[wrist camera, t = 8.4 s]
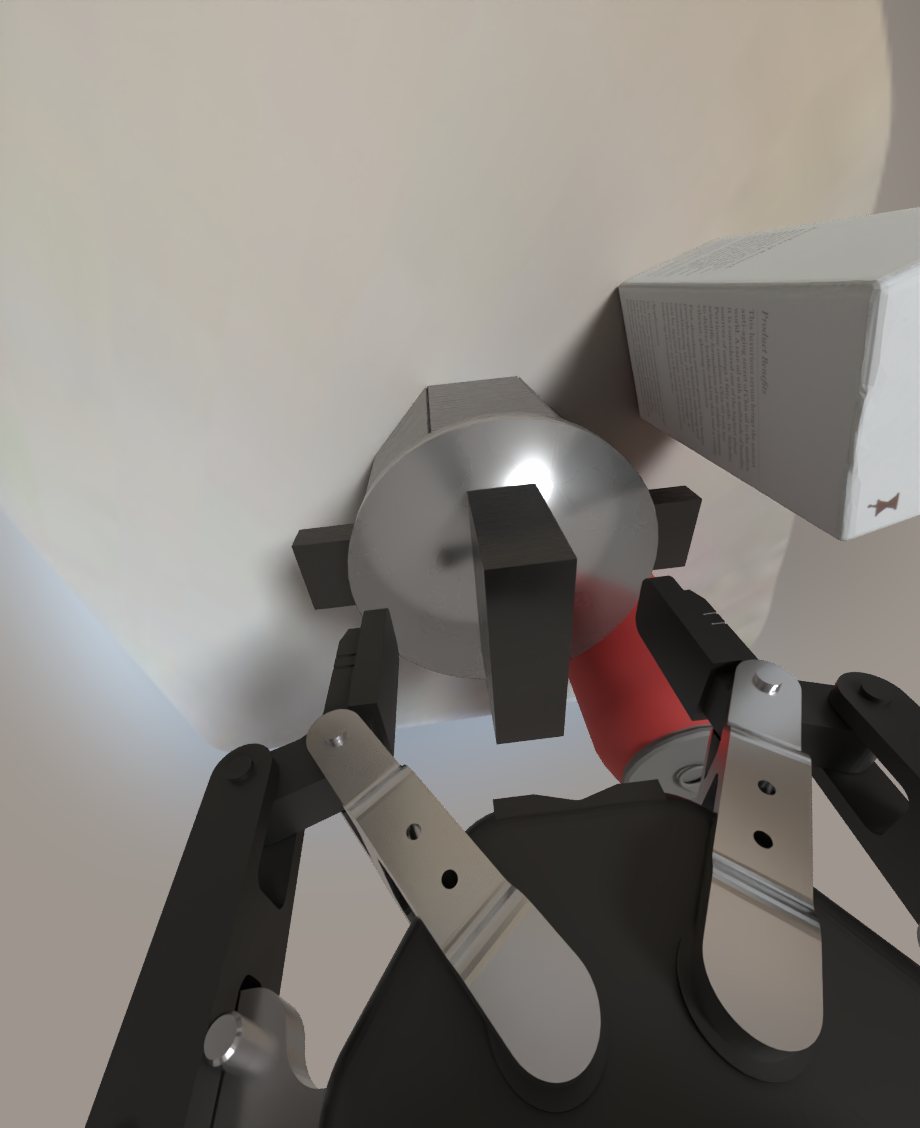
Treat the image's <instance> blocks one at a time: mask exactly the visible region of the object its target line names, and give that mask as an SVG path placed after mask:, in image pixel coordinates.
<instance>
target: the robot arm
mask: <svg viewBox="0 0 920 1128" xmlns="http://www.w3.org/2000/svg"><path fill="white" fill-rule="evenodd" d="M635 620H636V627H637V630H638V633H639V635H640V637H641V638H642V640H643V642H644V643H645V645H646V646H647V648H648V650H649V651H650V653H651V655H652V656H653V658H654V660H655V661H656V663H657V665H658V666H659V668H660V669H661V671H662V673H663V674H664V676H665V678H666V679H667V681H668V683H669V684H670V686H671V688H672V689H673V691H674V692H675V694H676V696H677V697H678V699H679V701H680V702H681V704H682V706H683V707H684V709H685V710H686V712H687V714H688V715H689V717H690V719H691V720H692V721H698V720H707V719H708V720H709V722H710V723H711V725H712V729H711V731H710V735H709V740H708V745H707V751H706V756H705V761H704V766H703V771H702V777H701V782H700V787H699V791H698V794H697V798H696V801H695V802H693V801H691V800H689V799H686V798H684V797H681V796H678V795H674V794H670V793H665V792H664V791H663V789H662V787H661V785H660V783H659V781H658V779H654V780H646V781H638V782H630V783H622V784H616V785H614V786H612V787H610V788H607V789H605V790H603V791H600V792H598V793H596V794H594V795H591V796H589V797H587V798H584V799H582V800H569V799H563V798H555V797H548V796H541V795H526V796H518V797H509V798H502V799H493V805H494V812H493V813H491V814H488V815H486V816H484V817H483V818H481V819H480V820H478V821H476V822H475V823H474V824H473V825H472V826H470V827H469V828H468V829H467V830H466V831H464V830H463V829H462V828H461V827H460V825H459V824H458V823H457V822H456V821H455V820H454V818H453V817H452V816H451V815H450V814H449V812H448V811H447V810H446V809H445V808H444V807H443V805H442V804H441V803H440V802H439V801H438V800H437V798H436V797H435V796H434V795H433V794H432V793H431V791H430V790H429V789H428V788H427V787H426V786H425V784H424V783H423V782H422V781H421V780H420V779H419V777H418V776H417V775H416V774H415V773H414V772H413V771H412V770H411V768H409V767H408V766H407V765H403V766H401V765H400V764H399V763H398V762H397V761H396V760H395V759H394V742H395V740H394V739H395V724H396V706H397V688H398V670H399V652H398V645H397V640H396V636H395V632H394V627H393V623H392V619H391V615H390V611H389V609H388V608H384V609H375V610H367V611H364V613H363V618H362V624H361V628H355V629H348V631H347V632H346V634H345V635H344V636H343V638H342V639H341V640H340V642H339V646H338V650H337V655H336V657H337V658H336V659H335V664H334V670H333V673H332V677H331V682H330V686H329V691H328V695H327V700H326V704H325V709H324V713H323V716H321V717H320V718H319V719H317V720H316V721H315V722H314V724H313V725H312V726H311V728H310V730H309V732H308V734H307V735H305V736H304V737H302V738H301V739H299V740H297V741H295V742H292V743H290V744H287V745H285V746H282V747H280V748H278V749H275V750H273V751H269V749H268V748H267V747H265V746H264V745H261V744H247V745H244V746H241V747H239V748H237V749H235V750H233V751H231V752H230V753H229V754H227V755H226V756H225V757H224V758H223V759H222V760H221V761H220V762H219V763H218V764H217V766H216V767H215V769H214V771H213V772H212V775H211V777H210V780H209V783H208V786H207V788H206V791H205V794H204V797H203V800H202V802H201V805H200V808H199V811H198V814H197V816H196V819H195V822H194V824H193V828H192V830H191V833H190V836H189V838H188V841H187V844H186V847H185V850H184V853H183V855H182V858H181V861H180V864H179V866H178V869H177V872H176V875H175V877H174V880H173V883H172V886H171V889H170V892H169V895H168V897H167V900H166V903H165V906H164V908H163V911H162V914H161V917H160V919H159V922H158V925H157V928H156V931H155V933H154V936H153V939H152V942H151V945H150V947H149V950H148V953H147V956H146V958H145V962H144V964H143V967H142V970H141V972H140V975H139V978H138V981H137V984H136V986H135V989H134V992H133V995H132V997H131V1000H130V1003H129V1006H128V1009H127V1011H126V1014H125V1017H124V1020H123V1023H122V1025H121V1028H120V1031H119V1034H118V1037H117V1039H116V1042H115V1045H114V1048H113V1050H112V1053H111V1056H110V1059H109V1062H108V1064H107V1067H106V1070H105V1073H104V1076H103V1078H102V1081H101V1084H100V1087H99V1089H98V1092H97V1095H96V1098H95V1101H94V1104H93V1106H92V1109H91V1112H90V1115H89V1117H88V1120H87V1123H86V1126H85V1128H920V966H919V965H918V964H917V963H915V962H914V961H913V960H911V959H910V958H909V957H907V956H906V955H904V954H903V953H901V952H900V951H899V950H897V949H896V948H895V947H894V946H892V945H891V944H890V943H888V942H887V941H886V940H884V939H883V938H882V937H880V936H879V935H877V934H876V933H875V932H873V931H872V930H871V929H870V928H868V927H867V926H865V925H864V924H863V923H861V922H860V921H859V920H857V919H856V918H855V917H853V916H852V915H851V914H849V913H848V912H846V911H845V910H844V909H842V908H841V907H840V906H839V905H837V904H836V903H834V902H833V901H832V900H830V899H829V898H828V897H826V896H825V895H824V894H822V893H821V892H820V891H818V890H817V889H816V888H814V887H813V849H812V848H813V846H812V777H813V778H814V779H815V781H816V782H817V784H818V785H819V786H820V788H821V789H822V790H823V792H824V793H825V795H826V796H827V798H828V799H829V800H830V802H831V803H832V805H833V806H834V807H835V809H836V810H837V812H838V813H839V814H840V816H841V817H842V818H843V820H844V821H845V823H846V824H847V825H848V827H849V828H850V830H851V831H852V833H853V834H854V835H855V837H856V838H857V840H858V841H859V842H860V844H861V845H862V847H863V848H864V849H865V851H866V852H867V853H868V855H869V856H870V858H871V859H872V861H873V862H874V863H875V865H876V866H877V867H878V869H879V870H880V872H881V873H882V875H883V876H884V877H885V879H886V880H887V882H888V883H889V884H890V886H891V887H892V889H893V890H894V891H895V893H896V894H897V896H898V897H899V898H900V899H901V901H902V902H903V904H904V905H905V907H906V908H907V909H908V911H909V912H910V914H911V915H912V917H913V918H914V919H915V921H916V922H917V924H918V925H919V926H918V930H917V939H918V943H919V947H920V707H919V706H918V705H917V704H916V703H915V702H914V701H913V700H912V699H910V697H909V696H907V694H905V693H904V692H903V691H902V690H901V689H900V688H898V687H897V686H895V685H894V684H892V683H890V682H888V681H886V680H884V679H882V678H880V677H877V676H874V675H871V674H866V673H861V672H850V673H845V674H843V675H841V676H840V677H839V679H838V680H837V682H836V683H835V685H827V684H820V683H813V682H805V681H799V680H797V679H796V678H795V677H794V676H793V675H792V674H791V673H790V672H788V671H787V670H786V669H784V668H782V667H781V666H778V665H776V664H774V663H771V662H768V661H764V660H758V659H757V658H756V656H755V655H754V654H753V653H752V652H751V651H750V650H749V648H748V647H747V646H746V645H745V644H744V643H743V642H742V640H741V639H740V638H739V637H738V636H737V635H736V634H735V632H734V631H733V630H732V629H731V628H730V627H729V626H728V624H725V621H724V620H723V619H722V618H721V617H720V615H719V614H716V611H715V610H714V609H713V607H712V606H711V605H710V604H709V603H708V602H707V601H706V599H704V598H702V597H701V596H699V595H697V594H696V593H694V592H693V591H691V590H683V589H682V588H681V587H680V585H679V584H678V583H677V582H676V581H675V579H674V578H673V577H671V576H662V577H653V578H646V579H644V580H643V582H642V585H641V590H640V595H639V600H638V605H637V610H636V616H635ZM876 758H878V759H879V761H880V762H881V763H882V764H883V765H884V766H885V768H886V769H887V770H888V771H889V772H890V773H891V774H892V775H893V777H894V778H895V779H896V780H897V781H898V782H899V783H900V785H901V786H902V787H903V789H904V790H905V792H906V794H907V796H908V799H909V801H908V800H907V799H906V798H905V797H904V796H903V794H902V793H901V792H900V791H899V790H898V788H897V787H896V786H895V785H894V784H893V783H892V781H891V780H890V779H889V778H888V777H887V776H886V774H885V773H884V772H883V771H882V770H881V769H880V768H879V766H878V765H877V764H876V763H875V762H874V761H875V760H876ZM339 812H340V813H341V814H342V816H343V817H344V819H345V820H346V822H347V824H348V825H349V827H350V828H351V830H352V832H353V833H354V835H355V836H356V838H357V839H358V841H359V843H360V844H361V846H362V847H363V849H364V851H365V852H366V854H367V855H368V856H369V858H370V860H371V862H372V863H373V865H374V866H375V868H376V870H377V871H378V873H379V875H380V877H381V879H382V880H383V882H384V884H385V885H386V887H387V889H388V890H389V892H390V894H391V895H392V897H393V898H394V900H395V902H396V903H397V905H398V906H399V908H400V910H401V911H402V913H403V914H404V916H405V918H406V919H407V921H408V922H409V924H410V926H409V928H408V930H407V931H406V933H405V935H404V937H403V939H402V941H401V943H400V944H399V946H398V948H397V950H396V952H395V953H394V955H393V957H392V959H391V961H390V963H389V964H388V967H387V968H386V970H385V972H384V974H383V976H382V977H381V979H380V981H379V983H378V985H377V986H376V988H375V990H374V992H373V994H372V996H371V997H370V999H369V1001H368V1003H367V1005H366V1006H365V1008H364V1010H363V1012H362V1014H361V1016H360V1017H359V1019H358V1021H357V1023H356V1025H355V1027H354V1028H353V1030H352V1032H351V1034H350V1036H349V1037H348V1039H347V1041H346V1043H345V1045H344V1047H343V1049H342V1050H341V1052H340V1054H339V1056H338V1059H337V1061H336V1063H335V1066H334V1068H333V1071H332V1073H331V1076H330V1079H329V1082H328V1085H327V1088H324V1089H318V1088H317V1087H316V1086H315V1085H314V1083H313V1082H312V1080H311V1078H310V1076H309V1074H308V1070H307V1066H306V1061H305V1032H304V1026H303V1022H302V1019H301V1017H300V1015H299V1013H298V1012H297V1010H296V1009H295V1008H294V1007H293V1006H291V1005H290V1004H289V1003H287V1002H286V1001H285V1000H283V999H282V998H281V997H279V994H280V988H281V981H282V975H283V968H284V962H285V954H286V948H287V942H288V935H289V928H290V922H291V915H292V909H293V902H294V896H295V890H296V883H297V877H298V870H299V864H300V857H301V851H302V844H303V837H304V831H305V829H306V828H308V827H310V826H312V825H314V824H316V823H318V822H320V821H322V820H324V819H326V818H329V817H331V816H332V815H335V814H337V813H339Z"/></svg>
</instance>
